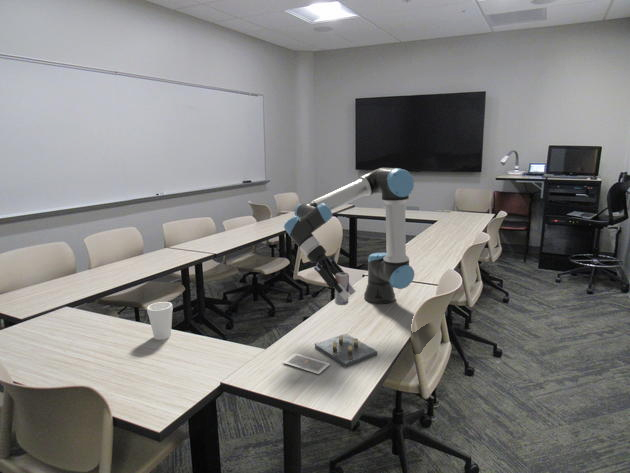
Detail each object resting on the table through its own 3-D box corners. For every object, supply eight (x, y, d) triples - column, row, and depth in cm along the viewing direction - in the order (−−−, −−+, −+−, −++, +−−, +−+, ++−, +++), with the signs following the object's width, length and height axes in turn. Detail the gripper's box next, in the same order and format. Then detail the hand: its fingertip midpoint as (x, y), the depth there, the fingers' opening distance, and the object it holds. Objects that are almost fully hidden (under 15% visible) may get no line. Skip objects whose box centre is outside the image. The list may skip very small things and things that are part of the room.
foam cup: (179, 333, 170) (177, 303, 167) (163, 343, 162) (160, 312, 159) (162, 329, 174) (159, 300, 171) (145, 339, 166) (141, 308, 163)
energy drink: (349, 301, 167) (350, 273, 164) (346, 306, 162) (346, 276, 159) (337, 299, 168) (337, 271, 166) (333, 304, 164) (333, 275, 161)
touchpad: (295, 355, 152) (294, 350, 152) (330, 366, 144) (330, 360, 144) (282, 365, 146) (282, 359, 145) (318, 377, 138) (318, 371, 137)
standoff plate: (346, 337, 165) (346, 327, 164) (377, 355, 151) (377, 344, 150) (314, 347, 157) (314, 337, 156) (344, 367, 143) (344, 356, 142)
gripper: (317, 250, 176) (352, 293, 172) (296, 261, 160) (334, 308, 156) (329, 239, 173) (365, 283, 169) (308, 249, 157) (348, 297, 153)
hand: (350, 295), depth 163 cm, fingers closed on energy drink, 5 cm apart
